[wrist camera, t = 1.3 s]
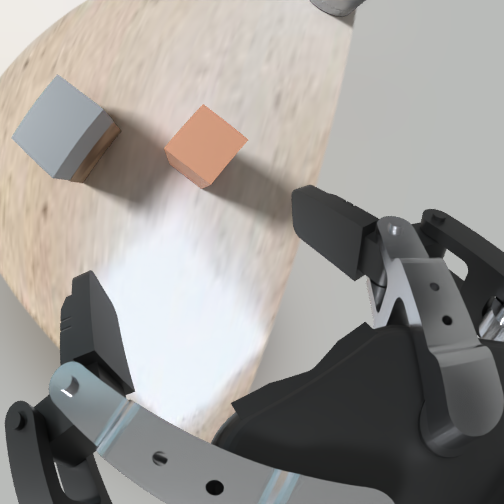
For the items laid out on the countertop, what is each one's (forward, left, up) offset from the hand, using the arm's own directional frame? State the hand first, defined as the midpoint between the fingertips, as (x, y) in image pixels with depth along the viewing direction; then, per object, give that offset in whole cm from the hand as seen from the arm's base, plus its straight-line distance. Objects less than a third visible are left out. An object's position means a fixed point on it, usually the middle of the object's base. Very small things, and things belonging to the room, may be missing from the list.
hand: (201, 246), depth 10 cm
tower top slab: (-7, -16, -20) cm, 26 cm away
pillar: (-6, 0, -24) cm, 25 cm away
